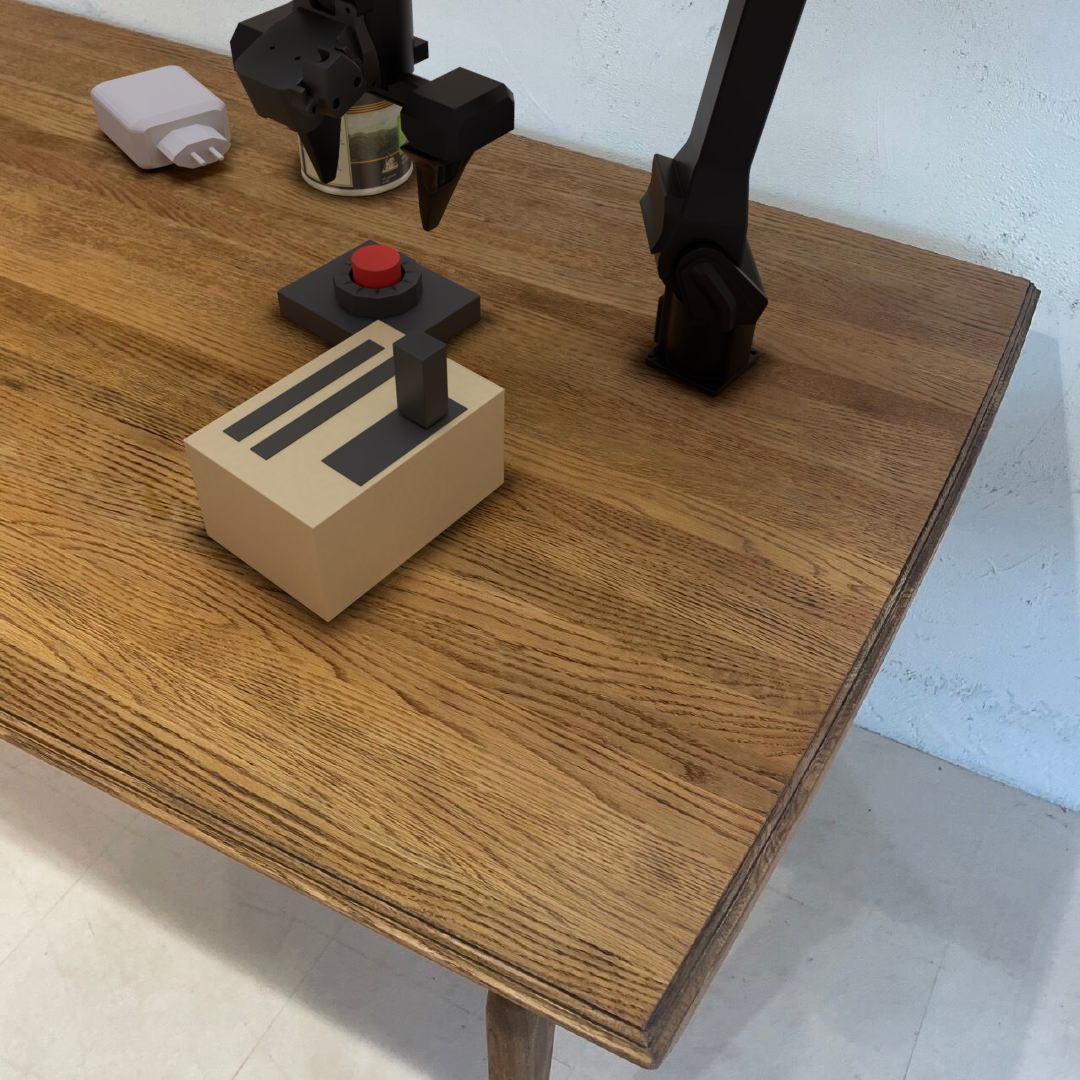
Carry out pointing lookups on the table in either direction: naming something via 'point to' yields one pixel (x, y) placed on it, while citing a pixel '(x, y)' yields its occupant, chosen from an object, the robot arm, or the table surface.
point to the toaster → (344, 471)
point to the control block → (378, 301)
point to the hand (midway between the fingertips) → (378, 204)
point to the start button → (376, 266)
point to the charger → (163, 118)
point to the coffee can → (365, 151)
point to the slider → (421, 377)
